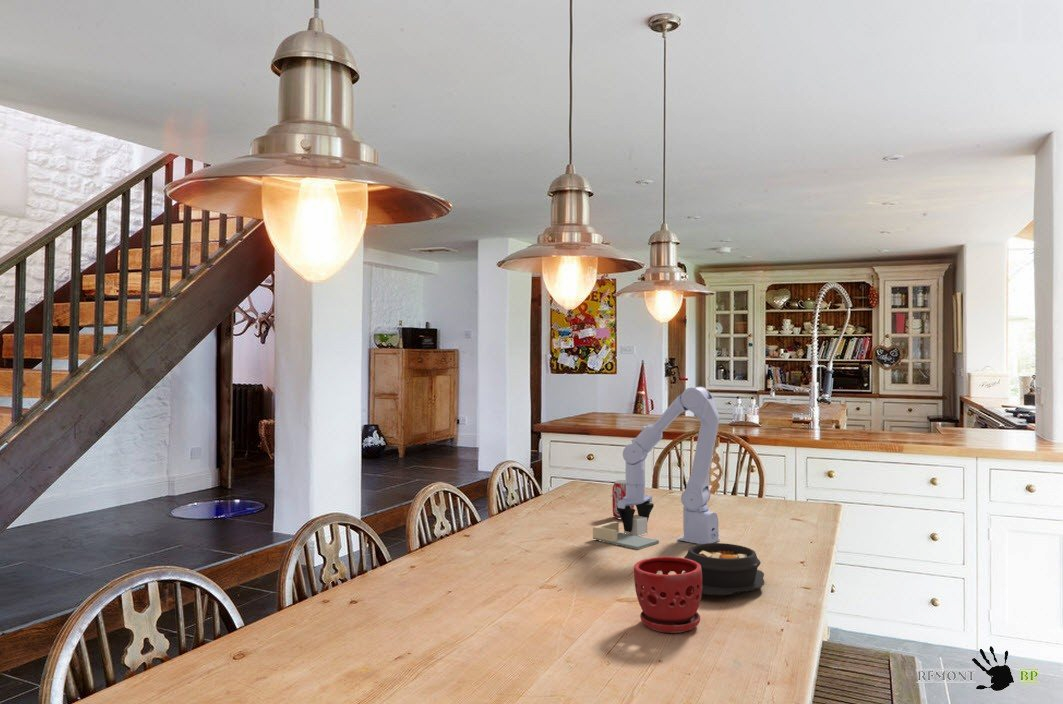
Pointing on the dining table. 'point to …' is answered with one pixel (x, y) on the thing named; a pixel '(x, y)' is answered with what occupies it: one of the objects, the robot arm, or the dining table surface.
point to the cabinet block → (638, 526)
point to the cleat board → (620, 536)
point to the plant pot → (669, 593)
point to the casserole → (726, 568)
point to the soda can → (618, 495)
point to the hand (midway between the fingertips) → (635, 529)
